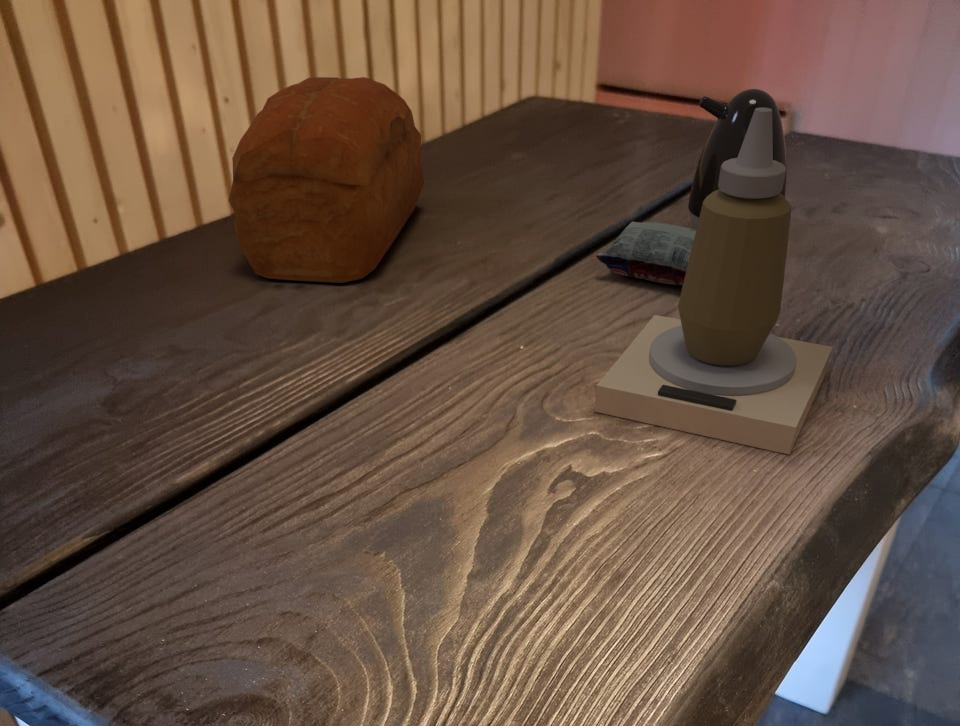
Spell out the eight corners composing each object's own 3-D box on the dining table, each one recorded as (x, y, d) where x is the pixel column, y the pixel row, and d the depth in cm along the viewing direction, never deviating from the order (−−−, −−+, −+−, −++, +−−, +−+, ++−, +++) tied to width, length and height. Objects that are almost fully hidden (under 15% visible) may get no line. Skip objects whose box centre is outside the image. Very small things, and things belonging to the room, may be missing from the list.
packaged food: (627, 251, 102) (631, 204, 99) (729, 271, 98) (737, 223, 94) (592, 279, 97) (595, 231, 94) (699, 302, 93) (706, 252, 89)
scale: (826, 372, 81) (835, 337, 79) (789, 454, 71) (798, 417, 69) (651, 339, 86) (655, 306, 84) (594, 411, 76) (597, 376, 74)
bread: (231, 279, 98) (198, 112, 87) (307, 198, 117) (288, 53, 107) (378, 288, 96) (363, 117, 85) (431, 203, 115) (424, 56, 104)
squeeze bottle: (791, 357, 76) (848, 112, 64) (721, 384, 73) (766, 131, 61) (720, 323, 81) (760, 90, 69) (652, 347, 78) (681, 106, 66)
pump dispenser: (683, 224, 109) (703, 76, 98) (774, 229, 107) (804, 79, 97) (679, 256, 101) (700, 99, 91) (776, 262, 100) (809, 103, 89)
